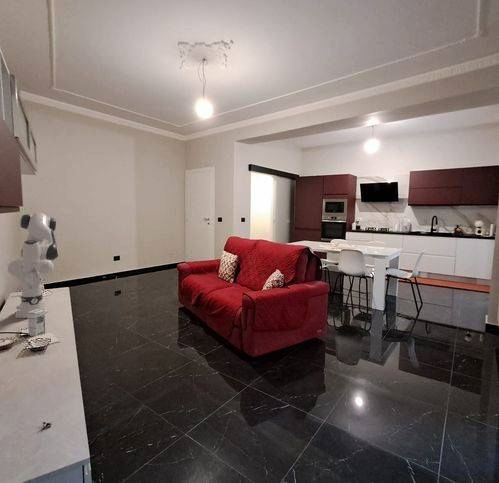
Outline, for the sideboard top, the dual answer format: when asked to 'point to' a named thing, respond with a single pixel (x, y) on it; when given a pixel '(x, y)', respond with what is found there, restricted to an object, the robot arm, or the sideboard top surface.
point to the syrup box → (36, 322)
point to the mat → (48, 335)
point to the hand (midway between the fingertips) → (32, 290)
